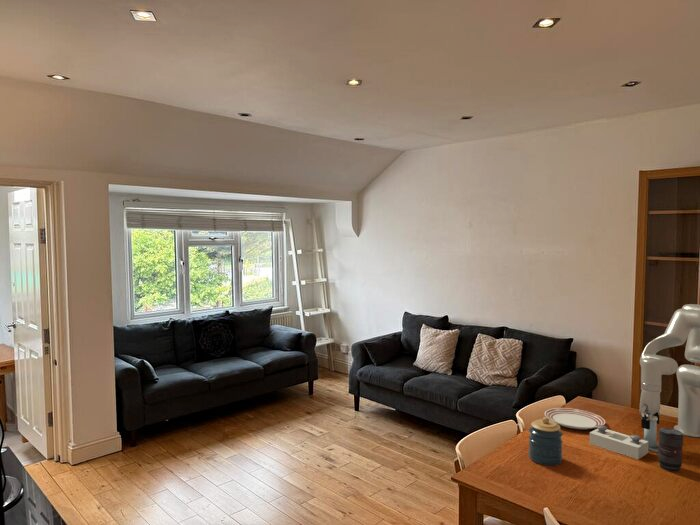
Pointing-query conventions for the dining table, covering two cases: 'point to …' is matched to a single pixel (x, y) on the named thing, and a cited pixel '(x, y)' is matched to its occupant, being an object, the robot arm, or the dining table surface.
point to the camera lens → (670, 449)
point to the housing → (619, 443)
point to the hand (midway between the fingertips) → (650, 425)
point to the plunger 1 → (601, 428)
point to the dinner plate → (574, 418)
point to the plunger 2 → (635, 439)
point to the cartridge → (651, 432)
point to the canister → (545, 442)
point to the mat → (654, 449)
